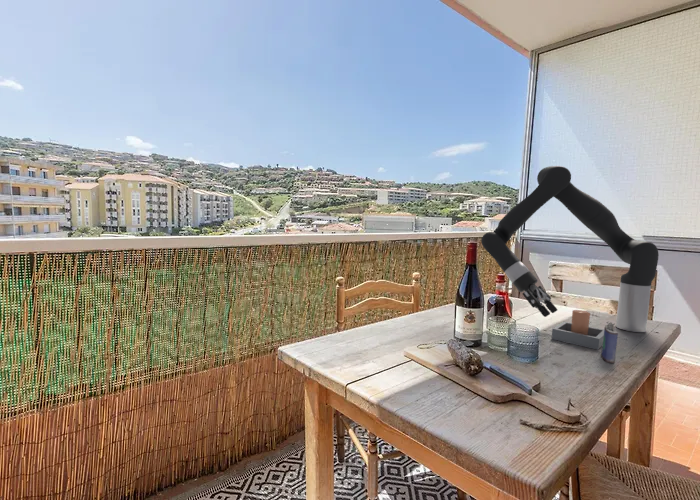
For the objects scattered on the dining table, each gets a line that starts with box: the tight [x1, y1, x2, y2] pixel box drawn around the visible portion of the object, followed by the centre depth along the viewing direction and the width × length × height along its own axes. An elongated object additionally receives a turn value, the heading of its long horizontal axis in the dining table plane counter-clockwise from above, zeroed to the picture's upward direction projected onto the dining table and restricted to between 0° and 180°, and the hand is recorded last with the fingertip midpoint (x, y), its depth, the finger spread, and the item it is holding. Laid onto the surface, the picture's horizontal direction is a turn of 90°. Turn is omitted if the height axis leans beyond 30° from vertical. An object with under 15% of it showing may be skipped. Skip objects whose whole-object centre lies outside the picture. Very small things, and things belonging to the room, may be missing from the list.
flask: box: [600, 321, 619, 364], centre depth 111 cm, size 9×3×11 cm, turn 152°
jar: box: [570, 309, 591, 335], centre depth 127 cm, size 5×5×9 cm
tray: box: [551, 321, 604, 351], centre depth 127 cm, size 13×13×4 cm
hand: (551, 313), depth 133 cm, fingers open, 8 cm apart
